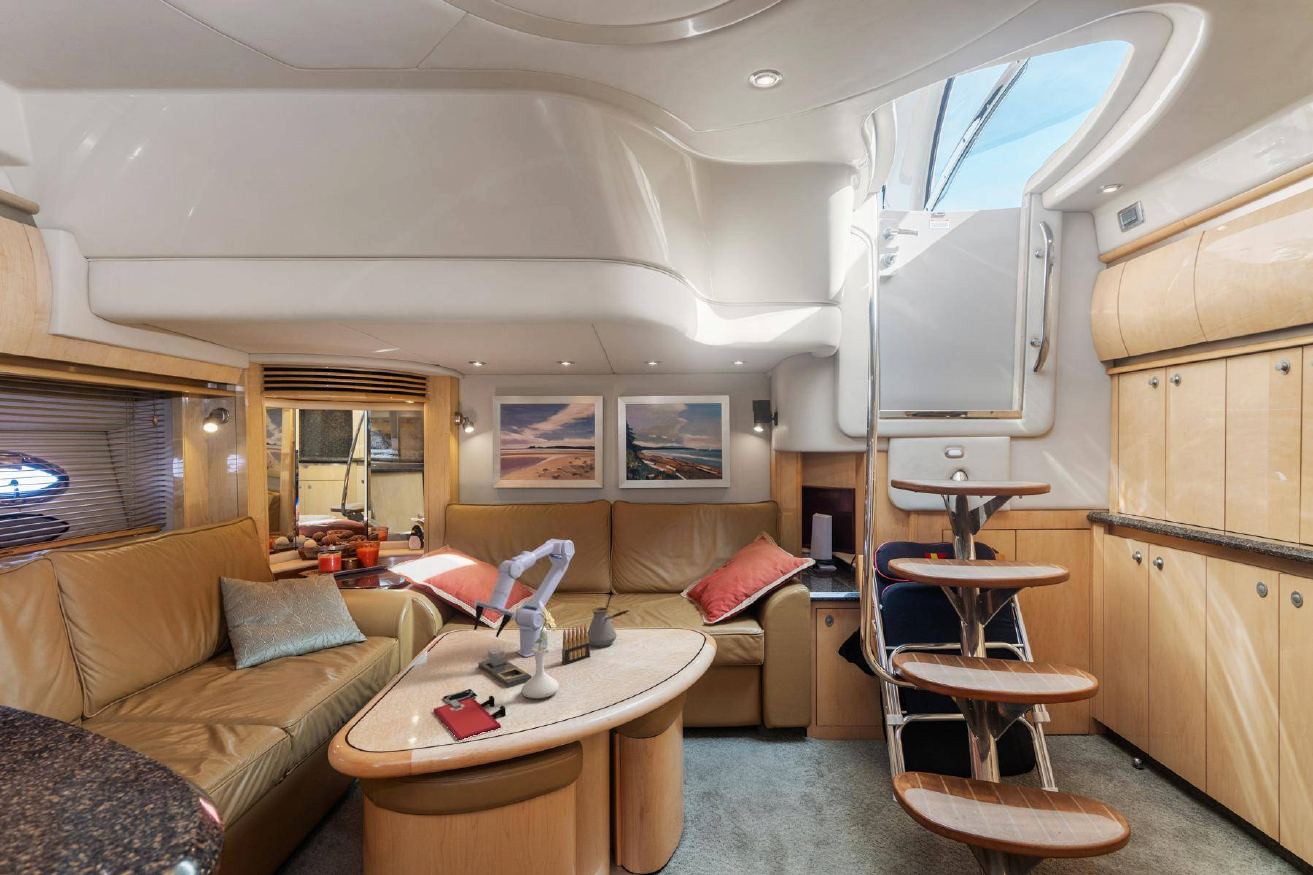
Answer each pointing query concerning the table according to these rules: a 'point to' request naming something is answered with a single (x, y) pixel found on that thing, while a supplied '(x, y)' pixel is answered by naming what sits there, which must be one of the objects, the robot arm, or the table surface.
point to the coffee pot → (602, 627)
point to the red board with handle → (468, 714)
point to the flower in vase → (541, 667)
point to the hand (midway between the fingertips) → (485, 633)
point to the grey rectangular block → (496, 658)
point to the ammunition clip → (575, 645)
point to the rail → (506, 673)
